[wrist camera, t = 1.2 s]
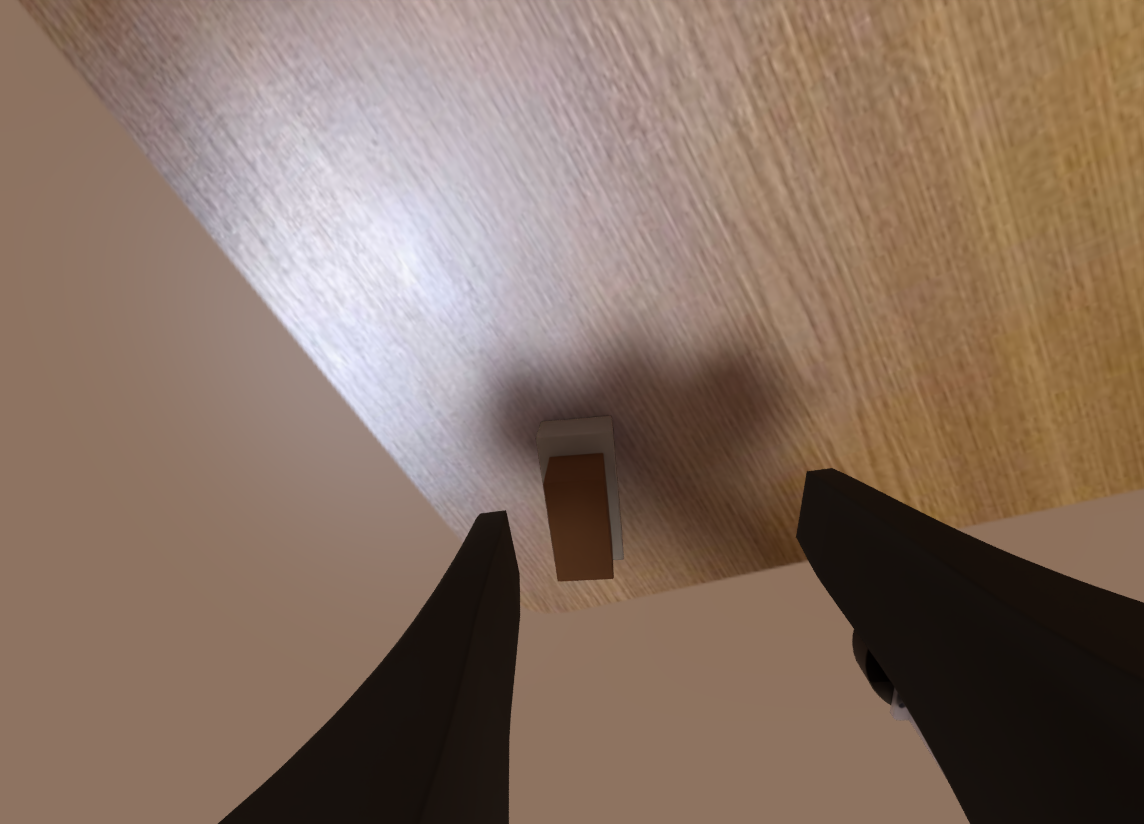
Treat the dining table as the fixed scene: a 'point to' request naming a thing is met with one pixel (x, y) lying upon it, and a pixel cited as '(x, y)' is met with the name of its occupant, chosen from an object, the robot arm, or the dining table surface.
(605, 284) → the dining table surface
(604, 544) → the eraser
